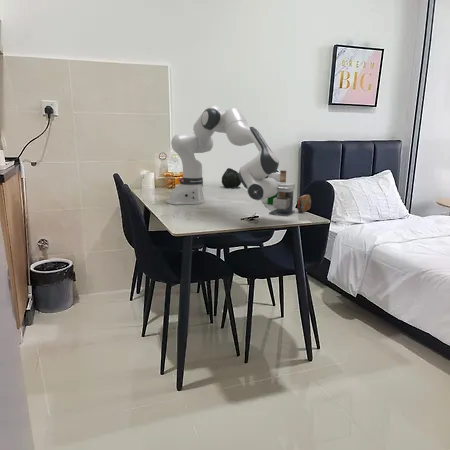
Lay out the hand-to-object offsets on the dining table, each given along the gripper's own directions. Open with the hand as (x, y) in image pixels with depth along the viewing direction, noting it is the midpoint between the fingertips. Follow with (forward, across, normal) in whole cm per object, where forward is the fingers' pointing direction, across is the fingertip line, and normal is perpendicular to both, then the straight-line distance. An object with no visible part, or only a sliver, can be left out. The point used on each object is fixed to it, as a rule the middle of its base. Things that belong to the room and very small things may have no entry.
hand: (278, 184), depth 199 cm
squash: (+78, +62, +15) cm, 101 cm away
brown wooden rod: (+8, 0, +12) cm, 14 cm away
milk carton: (+34, +13, +16) cm, 40 cm away
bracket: (+9, 0, +16) cm, 18 cm away
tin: (+22, -8, +16) cm, 28 cm away
